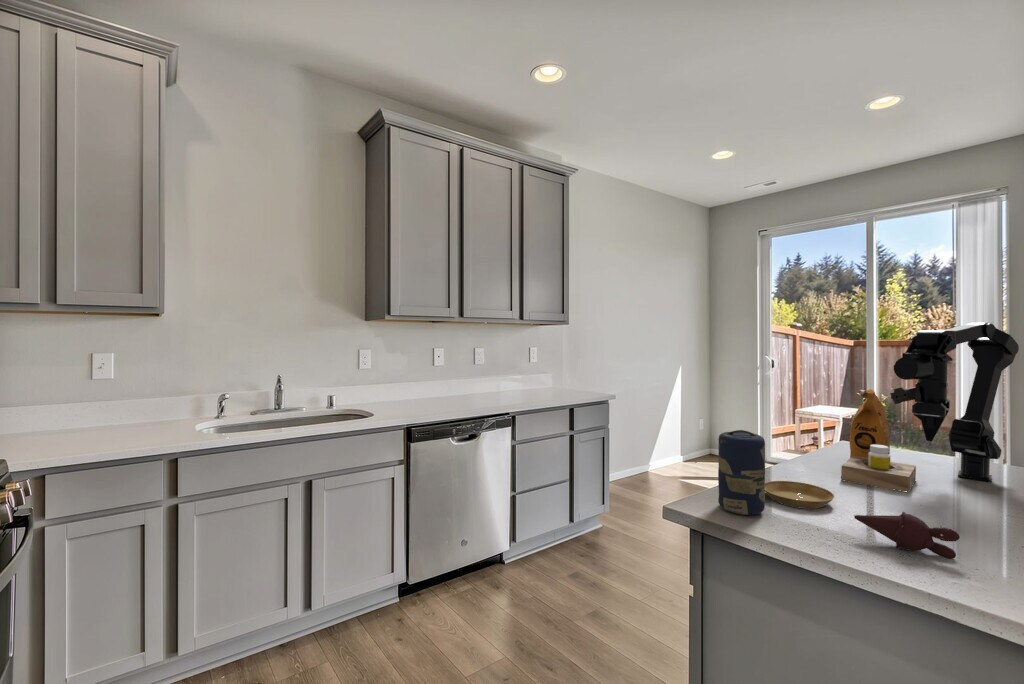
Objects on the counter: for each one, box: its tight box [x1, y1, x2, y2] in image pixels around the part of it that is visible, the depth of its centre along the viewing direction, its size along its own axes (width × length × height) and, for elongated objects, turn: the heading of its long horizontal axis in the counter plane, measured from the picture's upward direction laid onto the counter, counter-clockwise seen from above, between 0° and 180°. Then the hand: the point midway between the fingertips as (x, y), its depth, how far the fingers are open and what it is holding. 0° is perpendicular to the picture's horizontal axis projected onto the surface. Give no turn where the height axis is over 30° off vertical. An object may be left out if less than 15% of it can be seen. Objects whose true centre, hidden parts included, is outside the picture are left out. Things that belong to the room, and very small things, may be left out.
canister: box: [717, 429, 766, 516], centre depth 108 cm, size 10×10×18 cm
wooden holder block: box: [840, 456, 917, 493], centre depth 129 cm, size 14×14×4 cm
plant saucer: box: [765, 480, 835, 510], centre depth 114 cm, size 15×15×3 cm
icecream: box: [854, 511, 961, 560], centre depth 89 cm, size 7×7×15 cm
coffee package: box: [849, 388, 891, 459], centre depth 145 cm, size 10×12×22 cm
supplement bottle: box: [868, 444, 891, 469], centre depth 129 cm, size 5×5×8 cm
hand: (931, 438), depth 126 cm, fingers open, 9 cm apart
